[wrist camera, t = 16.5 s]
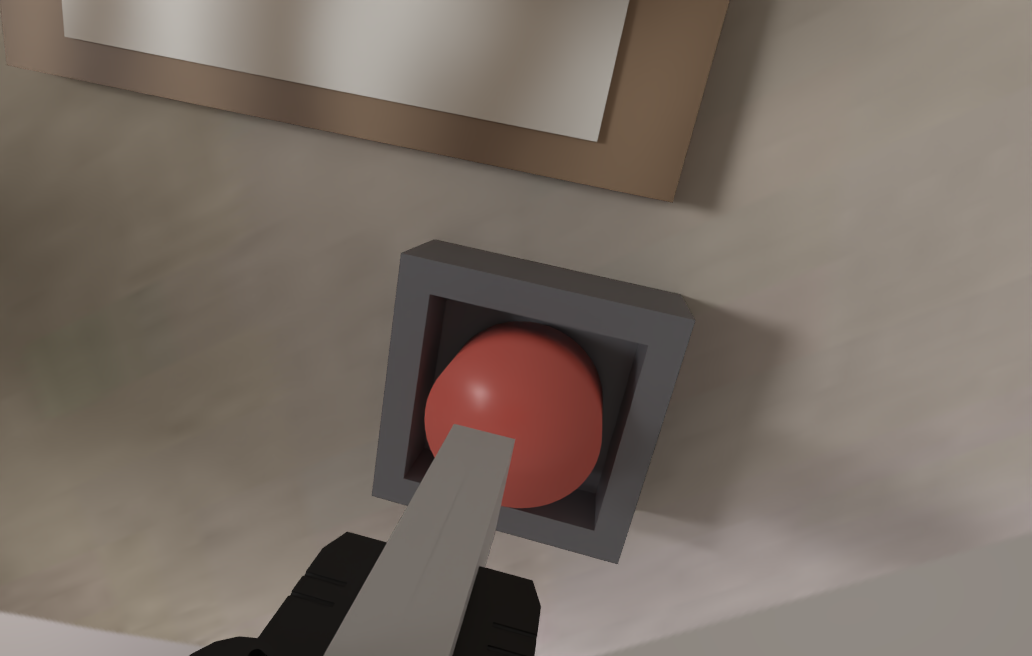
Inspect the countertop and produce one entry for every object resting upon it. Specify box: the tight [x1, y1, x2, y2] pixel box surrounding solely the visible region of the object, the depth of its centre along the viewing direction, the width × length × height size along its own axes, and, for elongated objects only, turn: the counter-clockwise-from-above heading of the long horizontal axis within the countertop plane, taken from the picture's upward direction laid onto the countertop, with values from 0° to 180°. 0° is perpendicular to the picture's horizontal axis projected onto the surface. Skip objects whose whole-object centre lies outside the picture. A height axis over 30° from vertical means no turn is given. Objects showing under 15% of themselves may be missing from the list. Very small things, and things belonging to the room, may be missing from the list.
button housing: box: [372, 240, 695, 564], centre depth 17 cm, size 8×8×3 cm
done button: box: [424, 321, 603, 508], centre depth 16 cm, size 5×5×2 cm
